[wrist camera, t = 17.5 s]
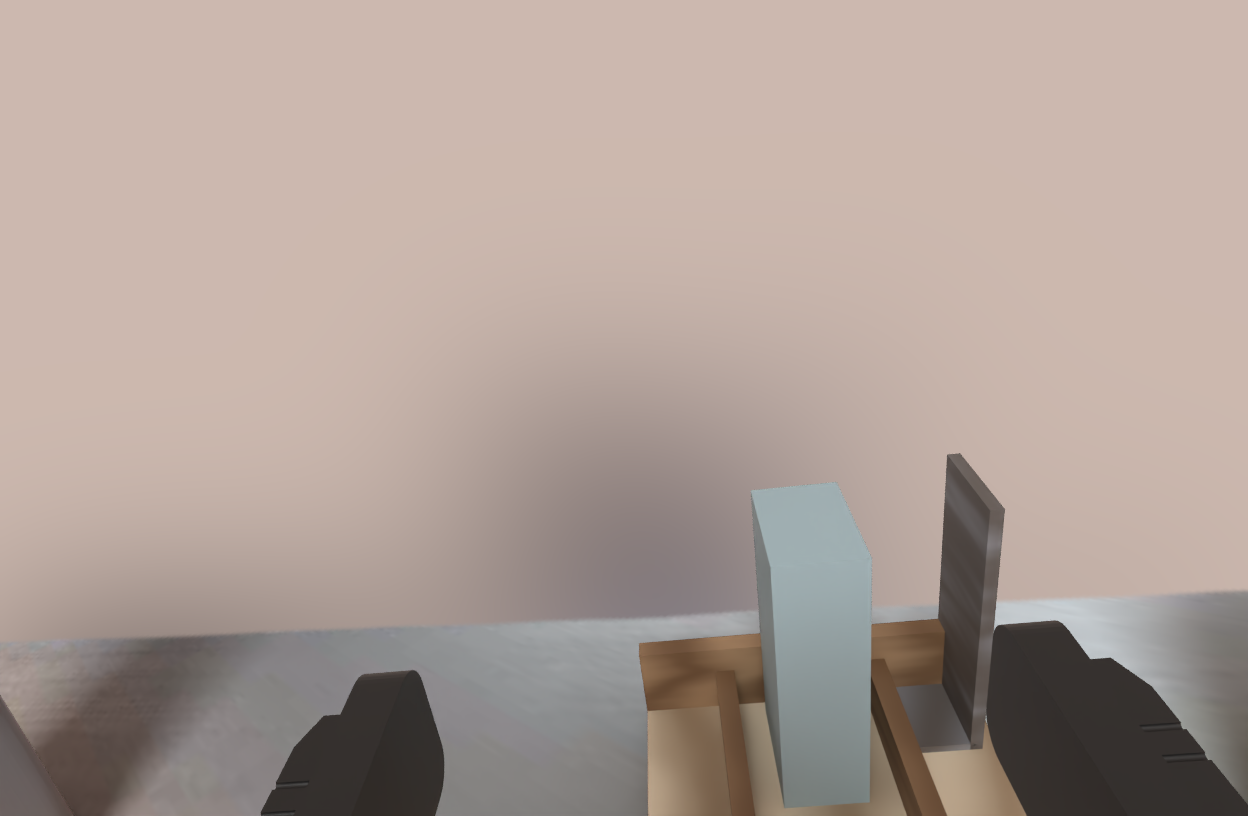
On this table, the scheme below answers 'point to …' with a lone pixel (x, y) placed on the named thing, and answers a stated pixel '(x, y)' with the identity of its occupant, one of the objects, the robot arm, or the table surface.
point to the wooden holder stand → (900, 699)
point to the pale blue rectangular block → (815, 642)
